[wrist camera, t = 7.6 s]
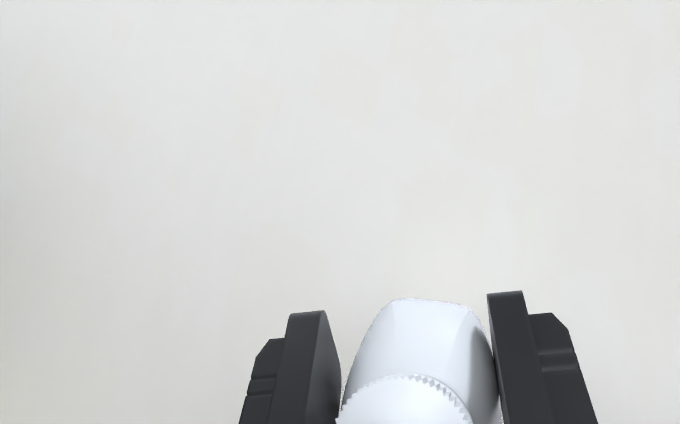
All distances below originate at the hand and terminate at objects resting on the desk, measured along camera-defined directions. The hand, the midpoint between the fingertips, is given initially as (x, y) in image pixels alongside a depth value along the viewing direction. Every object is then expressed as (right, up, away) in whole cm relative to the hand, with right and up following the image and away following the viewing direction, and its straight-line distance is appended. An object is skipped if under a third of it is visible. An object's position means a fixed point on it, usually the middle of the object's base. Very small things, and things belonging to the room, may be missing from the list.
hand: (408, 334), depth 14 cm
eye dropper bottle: (+2, -4, +7) cm, 8 cm away
